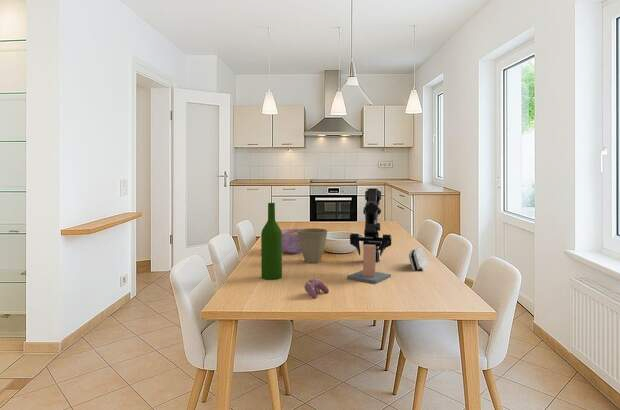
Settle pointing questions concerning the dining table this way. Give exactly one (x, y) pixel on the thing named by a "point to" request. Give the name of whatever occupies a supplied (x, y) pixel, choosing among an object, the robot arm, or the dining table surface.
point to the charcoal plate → (376, 279)
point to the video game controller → (315, 287)
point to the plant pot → (312, 243)
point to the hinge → (418, 259)
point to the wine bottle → (271, 247)
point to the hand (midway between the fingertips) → (370, 255)
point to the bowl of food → (290, 241)
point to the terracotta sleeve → (369, 260)
